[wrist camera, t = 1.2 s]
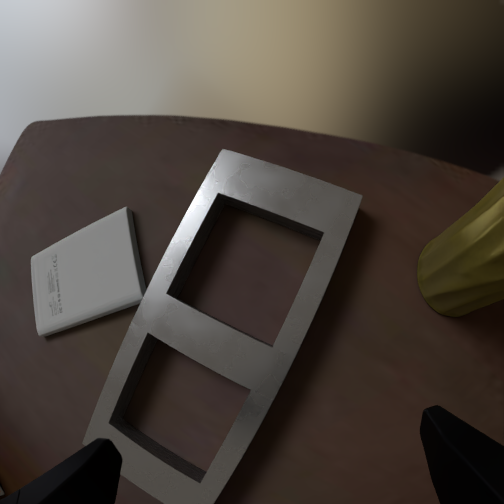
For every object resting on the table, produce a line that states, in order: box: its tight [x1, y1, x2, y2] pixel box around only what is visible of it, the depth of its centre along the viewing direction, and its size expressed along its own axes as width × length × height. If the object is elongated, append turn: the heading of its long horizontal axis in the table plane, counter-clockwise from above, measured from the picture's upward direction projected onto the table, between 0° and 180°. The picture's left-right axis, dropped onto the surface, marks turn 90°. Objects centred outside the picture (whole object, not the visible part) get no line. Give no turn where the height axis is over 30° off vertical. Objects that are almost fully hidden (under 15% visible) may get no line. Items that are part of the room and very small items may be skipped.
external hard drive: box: [31, 207, 147, 337], centre depth 25 cm, size 2×8×12 cm
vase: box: [417, 178, 504, 317], centre depth 13 cm, size 6×6×14 cm
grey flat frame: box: [83, 149, 362, 504], centre depth 21 cm, size 11×26×2 cm, turn 154°
